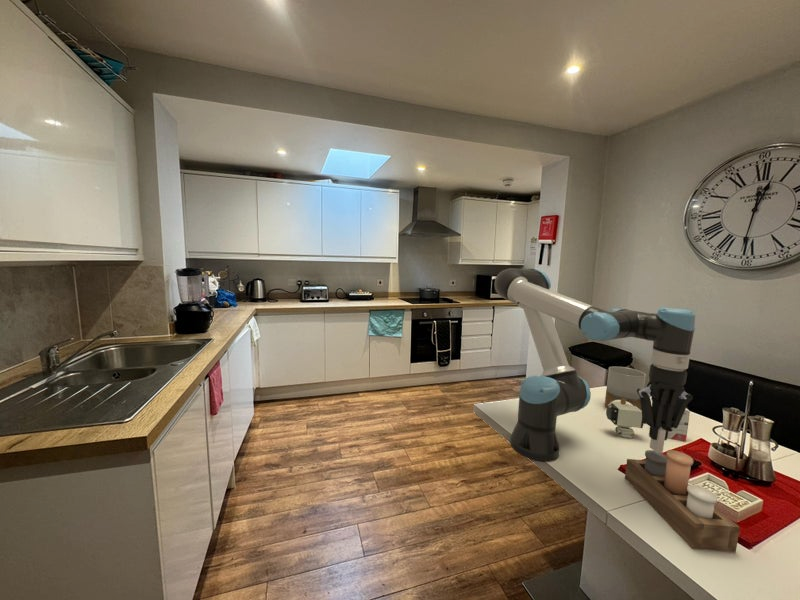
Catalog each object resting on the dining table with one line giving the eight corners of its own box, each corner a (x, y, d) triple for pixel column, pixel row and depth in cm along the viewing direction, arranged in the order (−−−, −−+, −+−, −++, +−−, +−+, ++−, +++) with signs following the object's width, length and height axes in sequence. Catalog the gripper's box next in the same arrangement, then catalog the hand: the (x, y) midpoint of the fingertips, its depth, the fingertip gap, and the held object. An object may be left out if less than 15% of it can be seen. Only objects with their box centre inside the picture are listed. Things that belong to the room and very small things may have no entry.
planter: (605, 401, 146) (609, 364, 144) (640, 410, 138) (645, 370, 136) (603, 411, 135) (608, 371, 133) (641, 421, 128) (646, 378, 126)
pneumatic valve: (645, 441, 112) (649, 409, 111) (609, 436, 115) (612, 405, 113) (637, 433, 118) (641, 402, 116) (602, 429, 120) (606, 399, 119)
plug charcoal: (649, 493, 84) (653, 460, 83) (636, 480, 89) (640, 449, 88) (669, 494, 84) (673, 462, 83) (655, 482, 89) (659, 450, 88)
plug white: (694, 537, 71) (700, 499, 70) (676, 520, 76) (681, 483, 75) (717, 540, 70) (724, 501, 69) (698, 522, 75) (703, 485, 74)
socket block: (691, 548, 69) (695, 523, 68) (624, 478, 92) (627, 458, 91) (735, 552, 68) (740, 527, 68) (657, 480, 91) (659, 461, 90)
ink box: (681, 435, 117) (685, 405, 116) (686, 442, 113) (690, 410, 111) (652, 430, 121) (656, 400, 119) (656, 436, 116) (660, 405, 115)
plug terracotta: (672, 497, 77) (677, 461, 76) (657, 483, 82) (661, 449, 81) (693, 499, 77) (699, 463, 76) (677, 484, 82) (682, 450, 81)
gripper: (652, 369, 80) (640, 456, 83) (707, 373, 79) (692, 460, 82) (633, 360, 87) (622, 440, 90) (682, 363, 86) (670, 444, 89)
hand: (655, 450), depth 86 cm, fingers closed
